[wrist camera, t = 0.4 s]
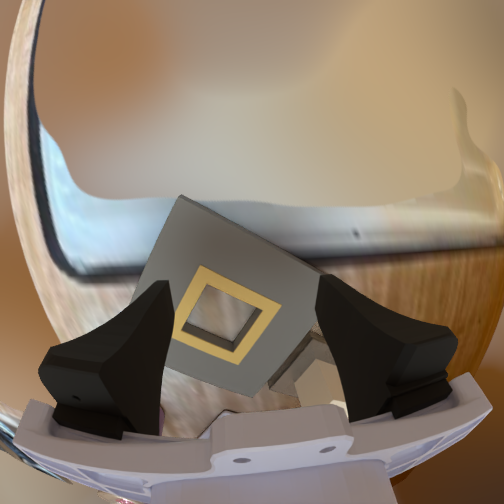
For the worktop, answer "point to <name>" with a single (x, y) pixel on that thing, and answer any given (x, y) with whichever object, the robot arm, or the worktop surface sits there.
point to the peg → (320, 386)
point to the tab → (300, 363)
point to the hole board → (237, 285)
